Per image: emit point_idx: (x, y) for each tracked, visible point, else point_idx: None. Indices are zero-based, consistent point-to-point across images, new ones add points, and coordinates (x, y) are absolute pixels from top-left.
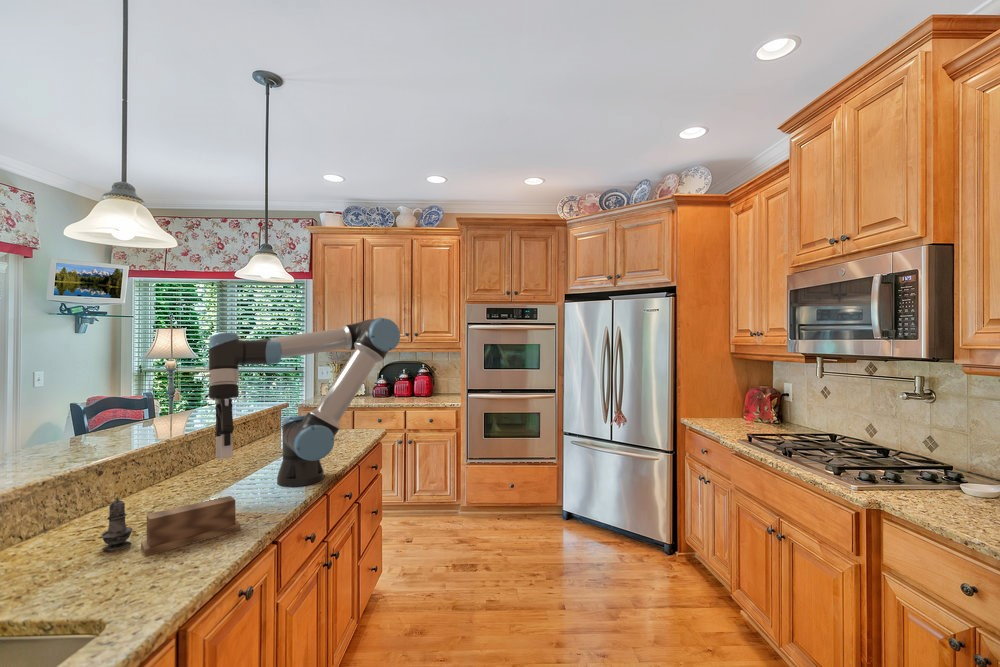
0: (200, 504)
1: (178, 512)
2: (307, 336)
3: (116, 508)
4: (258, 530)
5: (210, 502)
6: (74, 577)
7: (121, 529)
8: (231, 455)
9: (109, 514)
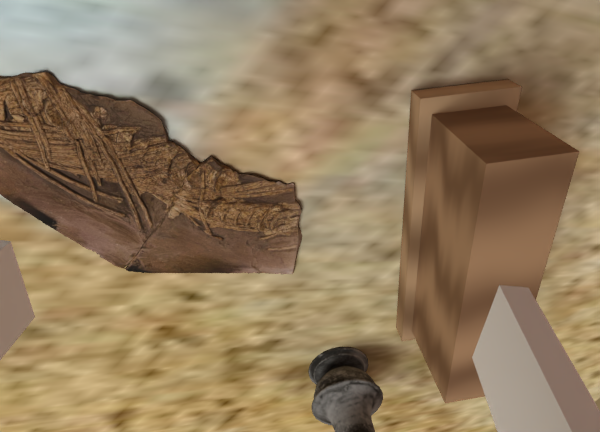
0: (496, 278)
1: None
2: None
3: None
4: (576, 14)
5: (506, 246)
6: (460, 400)
7: (369, 405)
8: (533, 311)
9: None
